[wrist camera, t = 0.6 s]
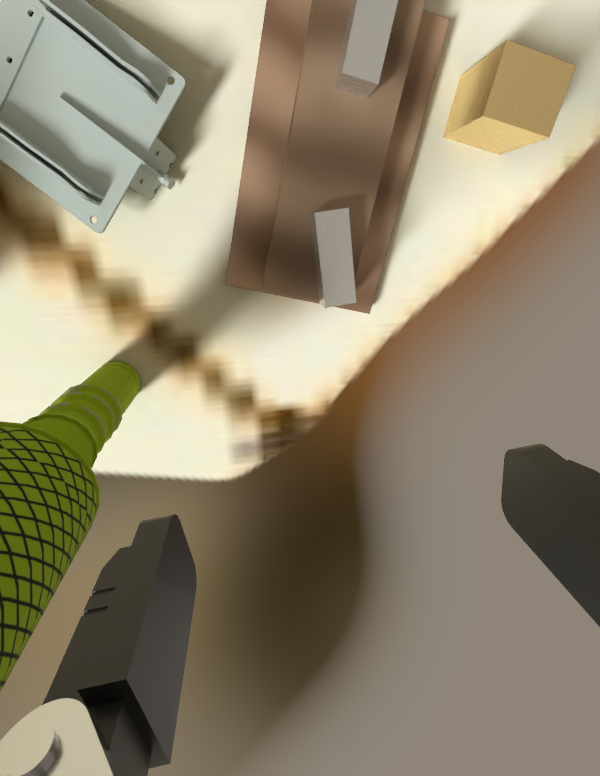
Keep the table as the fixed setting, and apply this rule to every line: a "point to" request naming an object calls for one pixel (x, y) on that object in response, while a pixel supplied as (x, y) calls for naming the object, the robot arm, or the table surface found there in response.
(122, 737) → the robot arm
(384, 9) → the grey bar
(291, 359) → the table surface
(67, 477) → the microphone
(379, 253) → the base
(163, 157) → the metal bracket
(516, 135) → the natural wood cube
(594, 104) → the table surface
